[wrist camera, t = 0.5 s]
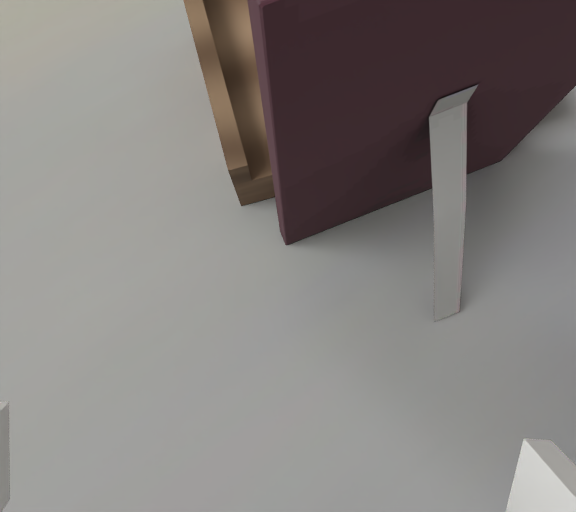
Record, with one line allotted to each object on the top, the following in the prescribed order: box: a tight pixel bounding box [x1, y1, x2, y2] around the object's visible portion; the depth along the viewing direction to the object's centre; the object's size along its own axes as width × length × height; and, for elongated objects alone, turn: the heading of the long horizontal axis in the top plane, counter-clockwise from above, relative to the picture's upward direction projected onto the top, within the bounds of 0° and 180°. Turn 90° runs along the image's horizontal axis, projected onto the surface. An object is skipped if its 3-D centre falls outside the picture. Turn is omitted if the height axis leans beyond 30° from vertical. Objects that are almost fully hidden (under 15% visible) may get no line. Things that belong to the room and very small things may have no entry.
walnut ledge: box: [184, 0, 275, 206], centre depth 36 cm, size 15×22×6 cm
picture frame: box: [247, 0, 576, 322], centre depth 24 cm, size 17×10×25 cm, turn 112°
